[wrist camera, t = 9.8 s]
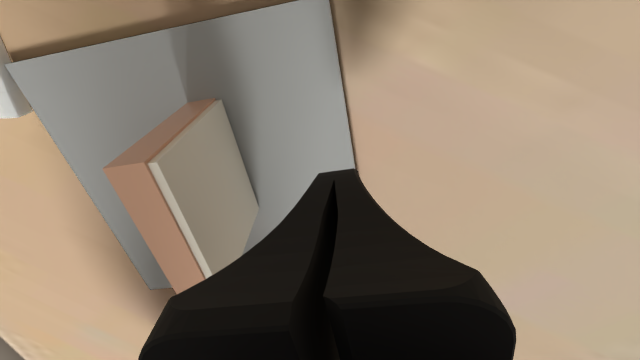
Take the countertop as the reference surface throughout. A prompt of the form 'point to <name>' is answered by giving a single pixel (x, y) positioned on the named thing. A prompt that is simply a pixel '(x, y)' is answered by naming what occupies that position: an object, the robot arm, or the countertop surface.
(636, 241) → the countertop surface
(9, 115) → the external hard drive
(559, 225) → the countertop surface
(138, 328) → the countertop surface
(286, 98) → the mat
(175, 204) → the tile
